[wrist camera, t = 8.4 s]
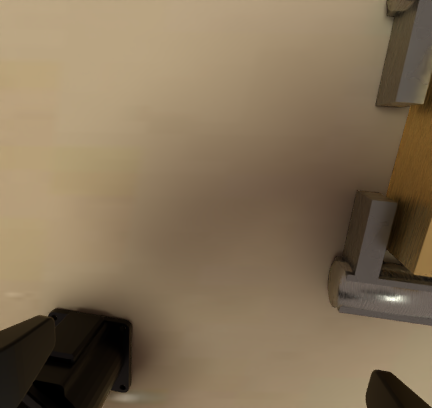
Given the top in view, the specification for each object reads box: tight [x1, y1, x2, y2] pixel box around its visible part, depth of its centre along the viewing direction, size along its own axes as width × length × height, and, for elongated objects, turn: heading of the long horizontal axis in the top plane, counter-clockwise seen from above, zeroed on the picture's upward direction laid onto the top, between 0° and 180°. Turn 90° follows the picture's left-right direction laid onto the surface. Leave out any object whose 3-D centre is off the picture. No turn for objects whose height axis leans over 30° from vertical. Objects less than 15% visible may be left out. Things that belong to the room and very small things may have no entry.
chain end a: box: [328, 190, 432, 326], centre depth 18 cm, size 7×8×3 cm
